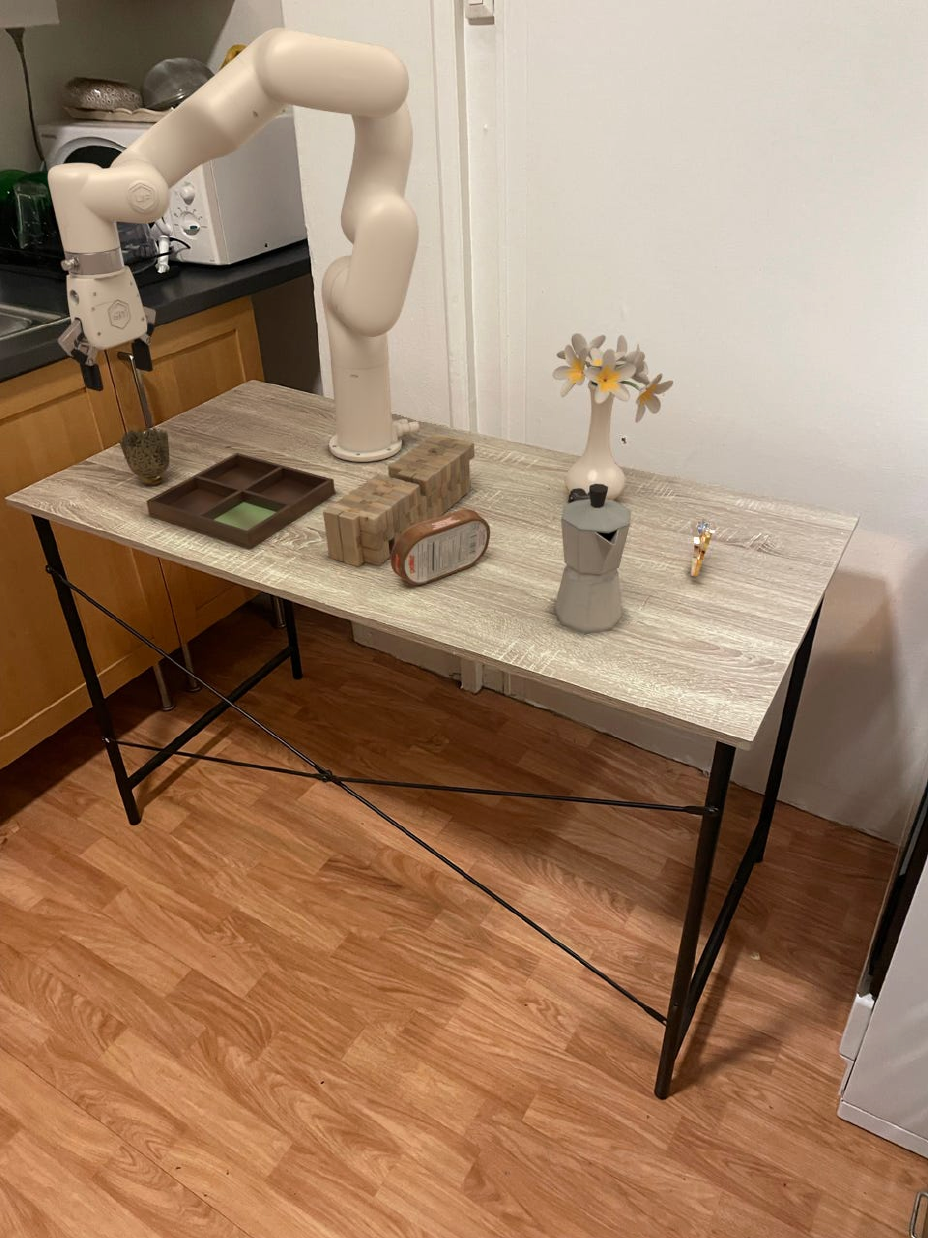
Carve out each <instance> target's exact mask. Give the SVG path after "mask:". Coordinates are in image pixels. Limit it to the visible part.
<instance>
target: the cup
mask: <svg viewBox="0 0 928 1238" xmlns="http://www.w3.org/2000/svg"><path fill="white" fill-rule="evenodd" d="M121 437H122V440H121V439H118V442H119V445H120V447H121V450H122V453H123V456H124V460H125V461H126V464H127V466H128V468H129V469H130V470H131V472H132V473H133V474H135V475H136V476H138V477H139V478H140V481H141V483H142V484H143V485H144V486H145V485H146V486H157V485H160V484H161V483H163V481H164V479H165V474H164V473H165V472H166V471H167V470H168V468H169V465H170V445H169V443H170V442H169V434H168V430H165V431H164V430H163V429H162V428H160V430H157V429H156V428H155V427H152V428H150V427H147V428H146V429H145V431H144V430H143V429H142V428H139V429H138V430H137V431H134V430H132V429H130V430H128V432H127V433H122V434H121Z"/></svg>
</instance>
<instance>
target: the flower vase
mask: <svg viewBox="0 0 928 1238" xmlns="http://www.w3.org/2000/svg"><path fill="white" fill-rule="evenodd" d="M570 340H571V344H566V345H565V347H564V349H563V350H559V351H558V352H557V353H556V357H557V358H558V359H561V360H565V362H566V364H567V365H560V366H558V367H556V368H555V369H554V370H553V371H552V374H551V375H552V376H551V377H552V378H553V380H556V381H565V382H564V383H563V384H562V387H561V390H560V398H565V397H567V395H568V394H569V393H570V391H571V390H573V388H574V386H576V385H577V386H582V385H584V383H585V380H586V378H587V379H588V383H587V388H588V390H589V394H590V396H589V397H590V418H589V419H590V420H589V428H588V435H587V441H586V446H585V449H584V450H583V453H582V454H581V456H580V458H578V459H577V460H576V461H575V462H573V464H572V465H570V467H569V468H568V470H567V471H566V474H565V476H564V486H565V488H566V490H567V491H568V492H569V493H570V492H571V491H572V490H573V489H576V488H581V489H583V490H584V491H585V492H586V494H587V495H588V492H589V487H590V485H593V484H604V485H606V486H607V487H608V492H607V495H606V499H607V500H613V501H615V499H617V498H618V497H619V496H620V495H621V494H622V493H623V492H624V491H625V488H626V485H627V484H626V483H627V481H626V477H625V474H624V473H625V472H624V471H623V469H622V468H621V466H620V465H619V464H618V463H617V462H616V460H615V459H614V457H613V454H612V451H611V443H610V442H611V422H612V421H611V419H612V409H613V404H614V401H615V398H616V399H618V400H619V401H622V402H628V401H630V399H631V394H630V391H629V389H628V388H627V386H626V385H628V386H631V387H633V388H635V390H637V391H638V395H637V398H636V400H635V404H636V405H637V409H636V414H635V423H636V424H637V423H639V422H640V421H641V420H642V419H643V417H644V415H645V413H646V408H647V409H648V411H649V412H650V413H651V414H654V415H655V414H656V415H657V414H658V413H659V412H660V411H661V407H662V405H661V403H662V402H661V400H660V399H659V397H658V396H657V395H661V394H664V393H666V392H667V391H668V390H670V389H671V387H672V386H673V385H674V381H673V380H666V381H663V382H661V381H662V379H663V373H658V374H657V375H656V376H655V377H654V378H653V379H652V380H650V379H649V377H648V375H649V367H648V364H647V362H646V361H644V360H645V358H646V355H645V353H644V352H643V351H641V349H640V345H639V342H637V344H636V350H632V351H630V352H629V353H628V342H627V339H626V337H625V335H623V334H620V335H619V336H618V338H617V341H616V342H617V343H616V351H615V350H614V349H612V348H608V349H606V350H605V351H604V352H603V350H601V349H600V348H601V347H602V346H603V344H604V343H605V341H606V340H607V336H606V335H605V334H601V335H598V336H596V337H594V338H593V339H592V340H591V341H590V342H589V344H588V342H587V339H586V338H585V337H584V336H583V335H582V334H581V333H578V332H576V333H573V335H572V336H571V339H570ZM630 379H631V380H633V381H634V382H636V383H638V384H642V385H644V386H642V387H641V386H639V385H638V384H636V383H634V382H632V381H628V380H630Z"/></svg>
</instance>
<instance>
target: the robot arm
mask: <svg viewBox="0 0 928 1238" xmlns="http://www.w3.org/2000/svg"><path fill="white" fill-rule="evenodd" d="M409 78H410V77H409V73H408V70H407V67H406V65H405V63H404V61H403V60H402V58H401V57H400V56H399V55H398V54H397V53H396V52H395V51H393V49H390V48H389V47H386V46H383V45H380V44H379V45H378V44H373V43H370V42H363V41H351V40H345V39H339V38H333V37H328V36H323V35H317V34H314V33H309V32H305V31H300V30H297V29H291V28H286V27H274V28H271V29H268V30H266V31H264V32H263V33H262V34H260V35H259V36H257V37H256V38H255V39H254V40H252V41H251V42H250V44H248V45H247V46H246V47H244V48H243V49H242V50H241V52H239V53H238V54H237V55H236V56H235V57H233V58H232V59H231V60H230V61H229V62H228V63H227V64H226V65H224V67H223V68H221V69H220V70H219V71H218V72H217V73H215V75H214V76H212V77H211V78H210V79H209V80H207V81H206V82H205V83H204V84H203V85H202V86H200V88H198V89H197V90H196V91H194V92H193V93H192V94H191V95H190V96H188V97H187V98H186V99H185V100H183V101H182V102H180V103H179V104H178V106H176V107H175V108H174V109H172V110H171V111H169V113H167V114H166V115H164V116H163V117H162V118H161V119H159V120H158V121H157V122H156V123H155V124H153V125H152V126H151V127H150V128H148V129H147V130H146V131H145V132H143V133H142V134H141V135H140V136H139V137H137V139H136V140H134V141H133V142H132V143H131V144H130V145H128V147H127V148H125V149H123V151H122V152H121V153H120V154H119V155H118V156H117V157H116V158H115V159H114V160H113V162H112V163H111V165H110V167H108V168H102V167H101V166H99V165H98V164H95V163H91V162H90V163H89V162H68V163H61V164H57V165H55V166H52V167H51V168H50V169H49V170H48V172H47V183H48V187H49V191H50V197H51V200H52V205H53V210H54V212H55V213H54V214H55V218H56V223H57V226H58V231H59V236H60V240H61V245H62V248H63V253H64V258H65V259H63V260H61V261H60V265H61V268H62V270H63V271H68V274H67V275H66V296H67V303H68V304H67V305H68V310H69V315H70V316H69V317H70V322H71V323H70V325H68V327H66V329H65V330H64V331H63V332H62V334H61V335H60V336H59V337H58V338H57V343H58V344H59V346H60V347H61V348H62V350H63V351H64V352H65V354H66V356H68V357H69V358H71V359H72V360H73V361H74V362H75V363H77V364H79V368H80V371H81V375H82V380H83V384H84V385H85V388H87V390H88V389H89V390H92V391H96V392H102V391H104V383H103V379H102V374H101V369H100V365H99V364H98V363H95V361H96V358H97V356H98V352H99V350H100V351H106V350H109V349H112V348H115V347H117V346H120V345H123V344H126V343H129V342H131V341H133V342H131V343H130V344H131V345H130V347H131V352H132V357H133V362H134V367H135V369H136V370H140V371H144V372H148V373H150V372H152V371H154V367H153V362H152V357H151V350H150V345H151V344H152V342H153V341H152V338H151V337H152V335H153V333H154V331H155V325H154V324H155V322H156V315H157V312H156V310H155V309H154V308H150V307H147V306H144V305H143V302H142V298H141V295H140V292H139V289H138V286H137V283H136V280H135V278H134V275H133V273H132V270H131V269H130V267H129V266H128V265H125V263H124V262H125V261H124V258H123V253H122V248H121V243H120V242H121V241H120V237H119V231H118V226H117V222H119V223H129V224H130V223H131V224H152V223H155V222H156V221H159V220H160V219H162V218H163V217H164V216H165V215H166V213H167V212H168V211H169V207H170V204H171V193H170V190H171V189H172V188H173V187H174V186H175V185H177V183H179V182H180V181H181V180H182V179H183V178H185V177H186V176H187V175H188V174H190V173H191V172H193V171H194V170H195V169H197V168H198V167H201V166H202V165H203V164H205V163H207V162H210V161H213V160H216V159H220V158H224V157H226V156H229V155H231V154H233V153H235V152H237V151H238V150H239V149H241V148H243V146H245V145H246V144H247V143H248V142H249V141H250V140H251V139H253V138H254V137H255V136H256V134H258V133H259V132H260V131H261V130H262V129H263V128H265V127H266V126H267V125H268V124H269V123H271V121H273V120H274V119H275V118H276V117H277V116H279V115H280V114H281V113H283V112H284V111H285V110H286V109H287V108H288V107H289V106H290V105H291V106H296V107H300V108H304V109H310V110H316V111H321V112H328V113H336V114H343V115H350V116H351V120H352V122H353V127H354V147H353V153H352V159H351V160H352V161H351V166H350V171H349V174H348V175H349V176H348V180H347V183H346V184H347V185H346V190H345V195H344V199H343V203H342V207H341V212H340V213H341V214H340V226H341V230H342V232H343V234H344V236H345V237H346V239H347V240H348V242H350V243H351V244H352V245H353V246H352V252H351V255H350V254H349V255H343V256H341V257H338V258H336V259H334V260H333V261H332V262H331V263H330V264H329V265H328V266H327V268H326V269H325V272H324V274H323V277H322V281H321V300H322V307H323V312H324V318H325V322H326V328H327V329H326V330H327V335H328V336H327V337H328V344H329V355H330V368H331V369H330V370H331V379H332V380H331V381H332V390H333V403H334V412H335V424H336V433H335V435H333V436H332V437H331V438H330V440H329V443H328V447H329V451H330V453H331V454H332V455H333V456H335V457H336V458H339V459H342V460H344V461H349V462H357V463H359V462H360V463H368V462H377V461H381V460H386V459H388V458H391V457H392V456H393V457H394V455H396V454H398V453H399V452H400V451H401V450H402V447H403V440H402V437H403V435H407V434H416V433H417V434H418V433H419V432H420V424H419V421H417V420H416V421H415V420H414V421H409V422H408V418H401V419H398V420H395V419H393V417H392V401H391V400H392V399H391V382H390V379H391V378H390V362H389V360H390V357H389V356H390V355H389V343H388V332H389V331H390V330H392V328H393V327H394V326H395V325H396V324H397V322H398V321H399V318H400V317H401V314H402V312H403V309H404V305H405V301H406V298H407V294H408V289H409V285H410V282H411V278H412V273H413V269H414V265H415V260H416V257H417V253H418V247H419V241H420V240H419V239H420V228H419V227H420V226H419V221H418V218H417V215H416V213H415V212H416V211H415V210H414V208H413V207H412V205H411V204H410V203H409V202H408V201H407V200H406V199H405V194H406V188H407V183H408V178H409V173H410V166H411V162H412V156H413V145H414V132H413V122H412V117H411V114H410V111H409V107H408V104H407V98H408V95H409V89H410V79H409ZM75 341H76V342H77V344H78V346H77V347H76V345H75Z"/></svg>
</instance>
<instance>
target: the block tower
mask: <svg viewBox="0 0 928 1238" xmlns="http://www.w3.org/2000/svg"><path fill="white" fill-rule="evenodd" d="M474 458H475V442H473V441H469V440H464V439H459V438H454V437H449V436H445V435H442V434H441V435H440V434H435V433H433V434H431V435H430V436H428V437H427V438H425V439H424V441H421V443H419V445H417V446H416V447H415V448H412V449H411V450H409V451H408V452H407V453H406V454H403V455H401V456H400V457H399V458H398V459H397V460H395V461H394V462H391V463H389V465H388V466H387V469H388V475H384V474H380V473H377V474H376V475H374V476H373V477H371V478H369V479H368V480H367V481H366V482H364V483H363V484H362V485H360V486H358V487H357V488H355V489H353V490H351V491H350V492H349V493H348V494H346V495H344V496H343V497H342V498H340V499H338V500H337V502H335V503H333V504H332V505H331V506H328V507H326V508H325V509H323V510H322V516H323V522H324V529H325V536H326V537H325V538H326V544H327V552H328V558H329V559H332V560H336V561H339V562H344V563H345V564H347V565H351V566H355V567H360V566H361V565H362V564H363V563H368V564H372V565H375V566H377V567H378V566H380V567H381V566H382V565H383V564H384V563H385V561H387V560H388V559H389V558H391V552H392V549H393V546H394V544H395V542H396V541H397V539H398V538H399V537H400V535H401V534H402V533H403V532H404V531H406V530H407V529H408V528H410V527H411V526H413V525H416V524H418V523H422V522H425V521H428V520H431V519H434V518H437V517H440V516H443V515H444V513H446V512H447V511H448V510H449V509H451V508H452V507H453V506H454V505H456V504H457V503H458V502H459V501H460V500H461V499H462V498H463V497H464V496H466V495H467V494H469V493H470V492H471V483H470V482H471V478H470V475H471V474H470V473H471V471H470V461H471V460H472V459H474Z"/></svg>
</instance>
